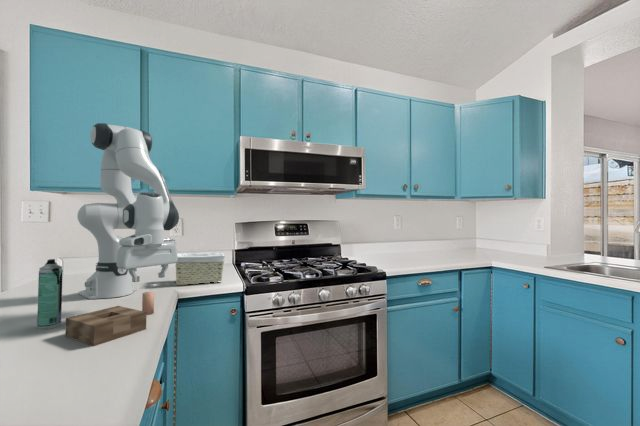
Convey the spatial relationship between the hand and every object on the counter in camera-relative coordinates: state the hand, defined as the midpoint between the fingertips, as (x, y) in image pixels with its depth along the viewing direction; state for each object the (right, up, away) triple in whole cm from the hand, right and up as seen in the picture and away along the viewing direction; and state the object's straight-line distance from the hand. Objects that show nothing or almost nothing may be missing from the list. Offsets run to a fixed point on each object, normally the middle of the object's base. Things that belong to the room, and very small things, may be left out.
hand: (149, 279), depth 107 cm
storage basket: (-4, -13, +55) cm, 57 cm away
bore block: (-2, -11, -18) cm, 22 cm away
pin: (-1, -12, 0) cm, 12 cm away
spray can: (-23, -11, -13) cm, 29 cm away
